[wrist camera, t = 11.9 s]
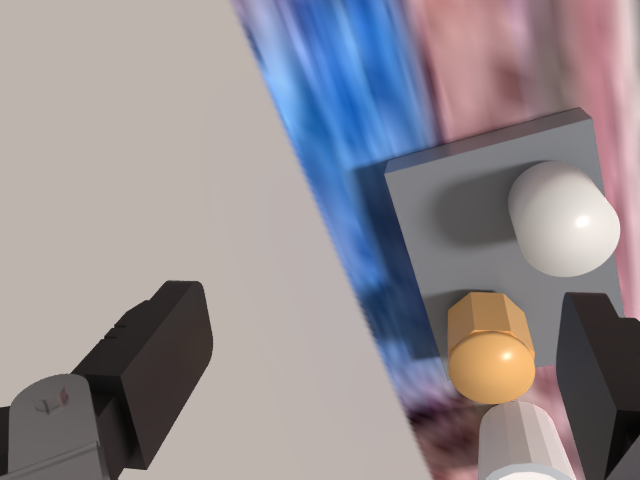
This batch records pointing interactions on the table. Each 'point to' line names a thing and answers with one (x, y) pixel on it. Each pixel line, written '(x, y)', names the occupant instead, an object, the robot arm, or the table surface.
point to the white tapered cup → (521, 445)
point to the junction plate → (509, 223)
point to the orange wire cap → (489, 348)
